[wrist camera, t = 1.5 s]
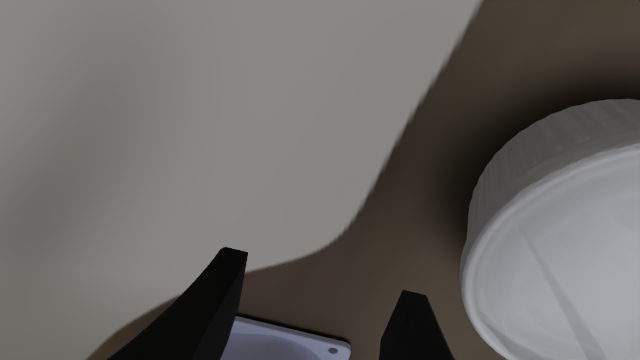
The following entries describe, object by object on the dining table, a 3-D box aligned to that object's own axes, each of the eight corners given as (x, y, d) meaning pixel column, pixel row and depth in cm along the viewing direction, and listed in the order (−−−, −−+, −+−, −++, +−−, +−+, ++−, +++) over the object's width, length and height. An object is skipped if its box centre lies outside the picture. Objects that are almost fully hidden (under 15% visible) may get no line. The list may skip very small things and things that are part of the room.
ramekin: (403, 242, 23) (407, 330, 18) (550, 20, 17) (609, 74, 12) (606, 321, 24) (655, 422, 20) (810, 142, 18) (948, 229, 14)
